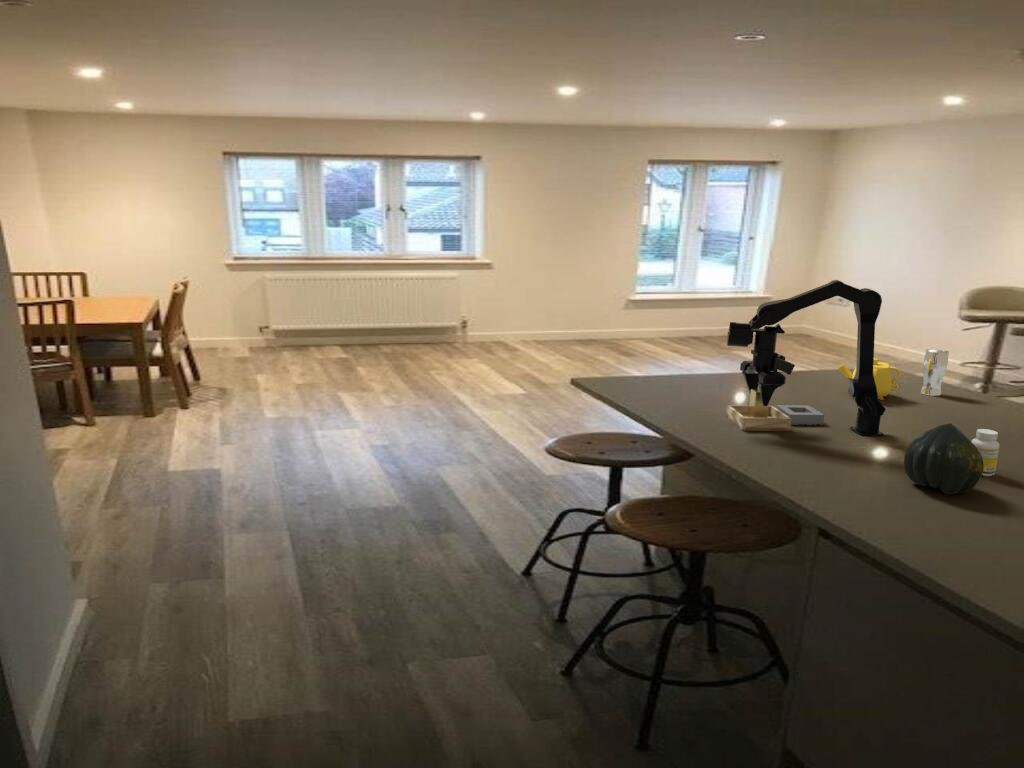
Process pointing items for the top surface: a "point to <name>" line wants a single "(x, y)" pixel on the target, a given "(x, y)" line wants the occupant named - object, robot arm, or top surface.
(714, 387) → the top surface
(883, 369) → the teapot
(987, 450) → the supplement bottle
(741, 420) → the tray
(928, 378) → the beer glass
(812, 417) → the frame
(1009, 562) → the top surface
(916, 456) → the squash
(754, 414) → the pin
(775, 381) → the robot arm
